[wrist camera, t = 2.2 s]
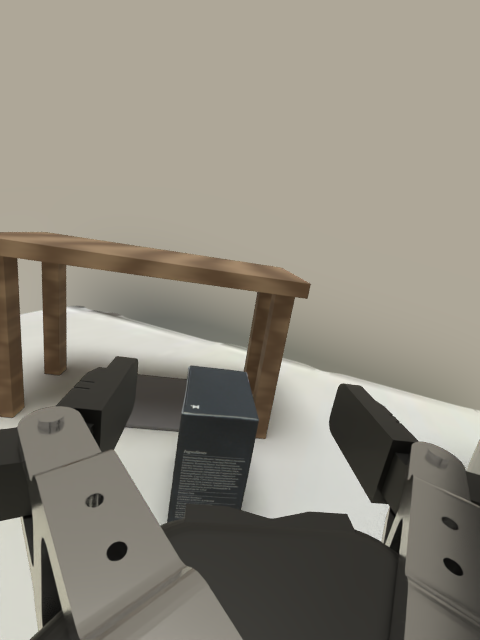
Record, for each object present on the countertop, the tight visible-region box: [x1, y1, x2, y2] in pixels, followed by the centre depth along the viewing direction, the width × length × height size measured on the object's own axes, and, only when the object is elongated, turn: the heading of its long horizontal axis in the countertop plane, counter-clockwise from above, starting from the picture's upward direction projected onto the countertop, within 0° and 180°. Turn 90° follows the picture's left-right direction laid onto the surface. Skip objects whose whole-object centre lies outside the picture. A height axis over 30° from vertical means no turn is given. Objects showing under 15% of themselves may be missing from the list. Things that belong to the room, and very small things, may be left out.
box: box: [167, 366, 259, 523], centre depth 26 cm, size 8×6×11 cm
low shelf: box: [0, 232, 311, 439], centre depth 37 cm, size 32×14×19 cm, turn 94°
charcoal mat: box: [125, 374, 187, 431], centre depth 39 cm, size 14×12×1 cm
